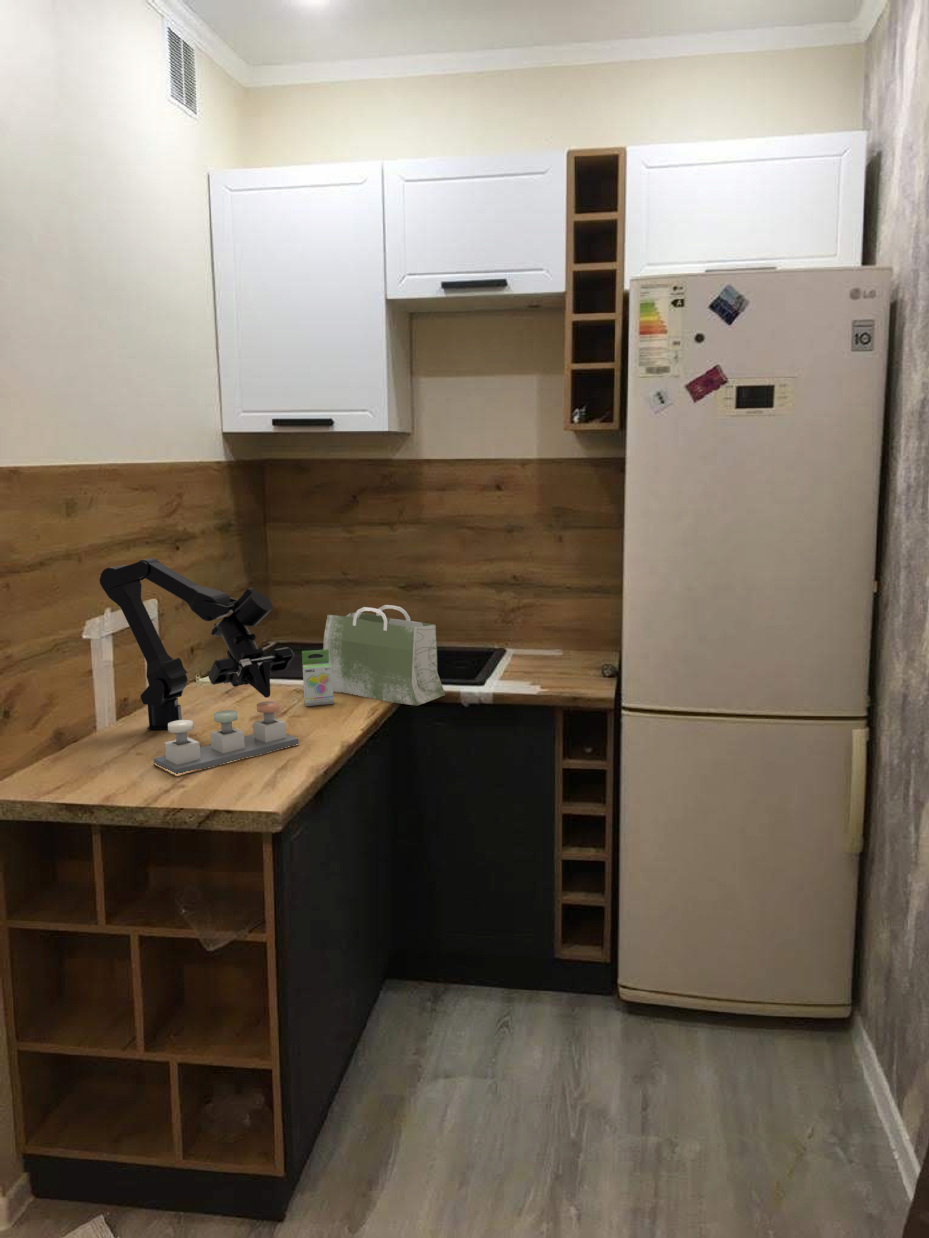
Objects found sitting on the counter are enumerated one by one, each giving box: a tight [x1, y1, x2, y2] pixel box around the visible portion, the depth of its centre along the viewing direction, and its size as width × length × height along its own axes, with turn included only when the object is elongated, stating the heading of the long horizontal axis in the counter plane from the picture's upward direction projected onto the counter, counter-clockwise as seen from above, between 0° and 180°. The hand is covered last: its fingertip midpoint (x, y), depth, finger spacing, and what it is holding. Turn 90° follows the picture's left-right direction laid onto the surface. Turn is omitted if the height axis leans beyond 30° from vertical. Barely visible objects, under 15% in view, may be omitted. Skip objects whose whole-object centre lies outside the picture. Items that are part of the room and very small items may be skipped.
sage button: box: [213, 709, 239, 735], centre depth 195 cm, size 5×5×5 cm
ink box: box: [301, 649, 335, 707], centre depth 235 cm, size 7×4×13 cm, turn 105°
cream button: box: [167, 719, 194, 746], centre depth 189 cm, size 5×5×5 cm
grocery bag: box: [322, 604, 446, 706], centre depth 244 cm, size 32×14×23 cm, turn 56°
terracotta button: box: [256, 700, 281, 725], centre depth 202 cm, size 5×5×5 cm
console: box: [153, 717, 300, 774], centre depth 196 cm, size 10×28×5 cm, turn 132°
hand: (268, 696), depth 202 cm, fingers closed
